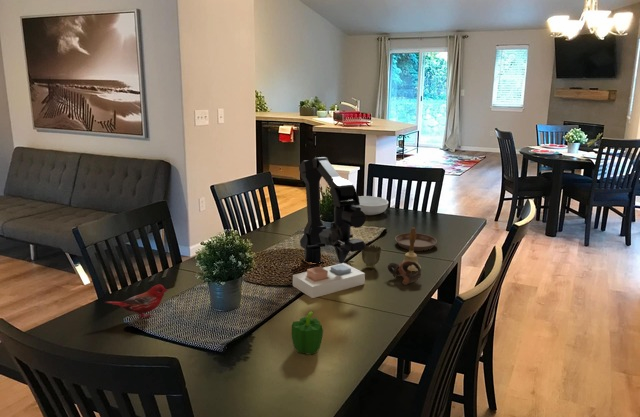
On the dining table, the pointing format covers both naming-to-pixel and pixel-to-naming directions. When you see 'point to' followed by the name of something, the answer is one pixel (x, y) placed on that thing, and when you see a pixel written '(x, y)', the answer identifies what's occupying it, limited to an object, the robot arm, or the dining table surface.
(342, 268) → the blue key
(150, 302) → the decorative bird figurine
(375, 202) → the serving bowl
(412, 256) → the hand bell
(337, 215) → the robot arm
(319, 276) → the terracotta key
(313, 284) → the key panel
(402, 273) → the pottery mug
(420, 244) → the plant saucer
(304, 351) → the bell pepper
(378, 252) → the cup
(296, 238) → the dining table surface
